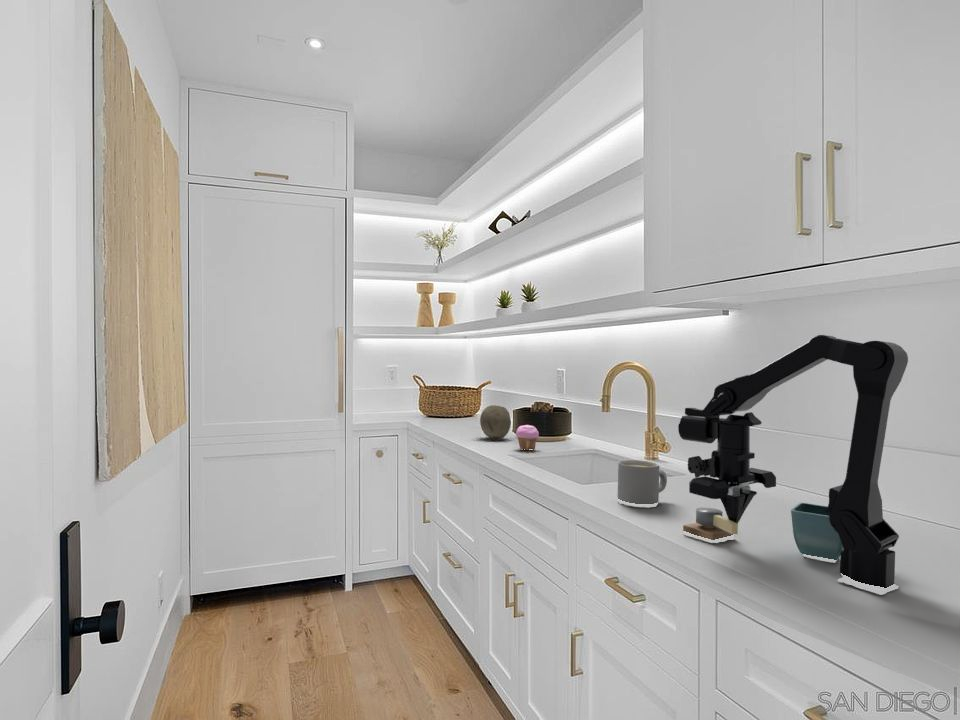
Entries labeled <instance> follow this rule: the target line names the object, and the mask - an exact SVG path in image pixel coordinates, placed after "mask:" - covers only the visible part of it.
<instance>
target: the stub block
mask: <svg viewBox="0 0 960 720" xmlns="http://www.w3.org/2000/svg"><path fill="white" fill-rule="evenodd" d="M682 528H683V530H682V532H683V531H686V532H689V533H691V534H694V535H697V536H701V537H704V538H708V539H711V540H715V539H719V538H723V537H727V536H731V535H733V534H730V533H728V532H726V531H724V530H722V529H720V528H718V527H713V526H705V525H701V524H698V523H697V522H693V523H687V524H683V527H682Z"/></svg>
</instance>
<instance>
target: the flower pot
mask: <svg viewBox="0 0 960 720" xmlns="http://www.w3.org/2000/svg"><path fill="white" fill-rule="evenodd" d="M827 507H828V505H827V506H826V505H819V504H815V503H814V504H813V503H807V502H798V503H797V504H796V505H794V507H792V508H791V509H790V514H791V516H790V517H791V522H792V523H791V525H792V534H793V539H794V542H795V545H796V547H797V549H798V551H799V553H800V554H801V553H802V554H806V555H811V556H817V557H823V558H828V559H834V560H837V561H839V558H840V554H841V551H843V550H844V548H843V545H842V543H841V540H840V537H839V534H838V532H836V531H835V529H834V528H833V527H832V526H831V525H830V522H829V513H830V512H828V513H826V512H825V510H826V509H827ZM802 554H801V555H802Z"/></svg>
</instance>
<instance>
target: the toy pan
mask: <svg viewBox="0 0 960 720" xmlns="http://www.w3.org/2000/svg"><path fill="white" fill-rule="evenodd" d="M695 523H698V524H701V525H705V526H713V527H718V528H720V529H722V530H724V531H726V532H728V533H730V534H735V535H738V534H739V522H738V523H736V522H733V521H731V520H729V519H728V517H727V518H726V517H724V516H723V511H722V510H720V509H718V508H711V507H697V508H696V509H695Z"/></svg>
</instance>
